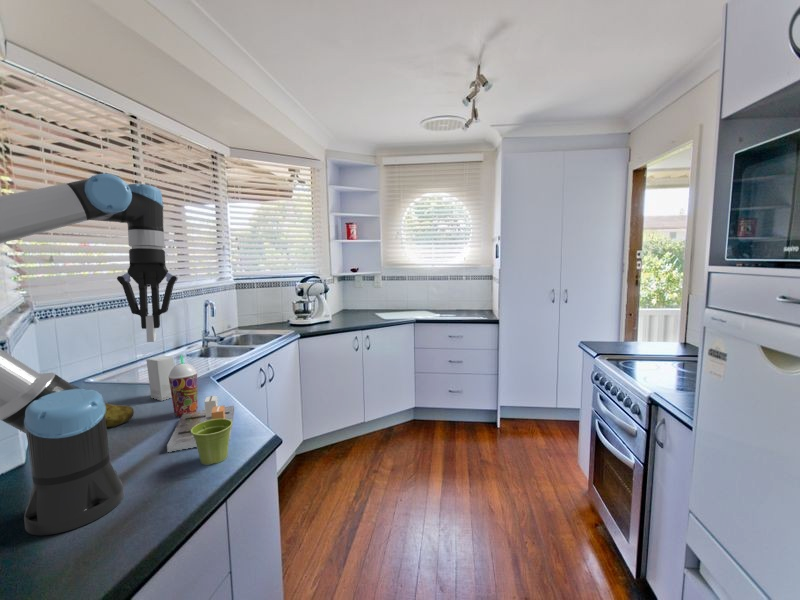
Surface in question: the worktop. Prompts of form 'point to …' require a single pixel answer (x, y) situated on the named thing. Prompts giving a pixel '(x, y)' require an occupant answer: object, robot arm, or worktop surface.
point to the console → (183, 434)
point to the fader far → (210, 405)
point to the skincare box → (160, 376)
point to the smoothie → (183, 388)
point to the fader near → (218, 412)
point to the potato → (117, 414)
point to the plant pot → (212, 440)
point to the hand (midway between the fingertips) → (151, 341)
